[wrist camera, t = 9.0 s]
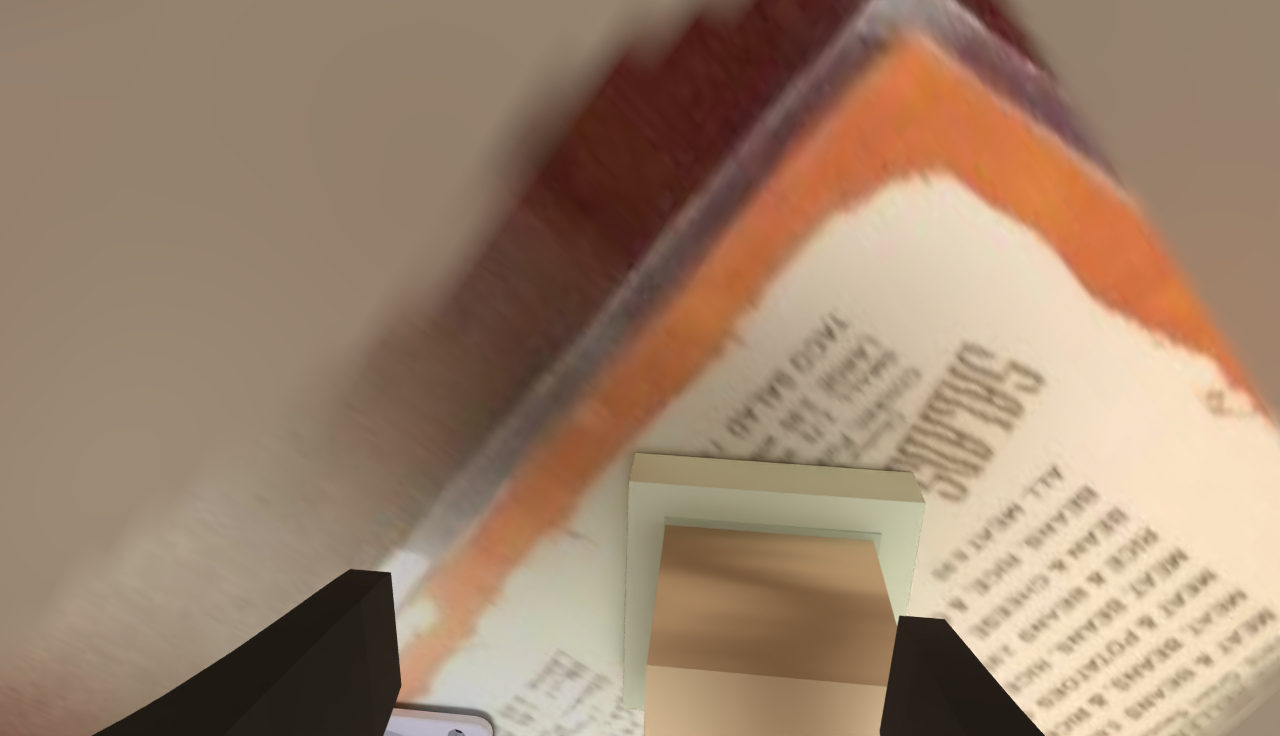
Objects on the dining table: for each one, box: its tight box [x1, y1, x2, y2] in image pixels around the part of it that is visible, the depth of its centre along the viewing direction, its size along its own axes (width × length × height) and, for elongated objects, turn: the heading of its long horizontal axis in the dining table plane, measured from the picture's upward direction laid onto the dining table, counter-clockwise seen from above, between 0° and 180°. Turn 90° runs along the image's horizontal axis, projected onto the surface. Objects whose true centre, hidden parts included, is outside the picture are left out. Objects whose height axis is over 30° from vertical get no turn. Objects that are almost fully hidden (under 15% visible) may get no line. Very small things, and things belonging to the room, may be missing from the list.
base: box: [623, 453, 925, 711], centre depth 23 cm, size 7×7×2 cm
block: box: [644, 525, 897, 736], centre depth 20 cm, size 5×5×5 cm
